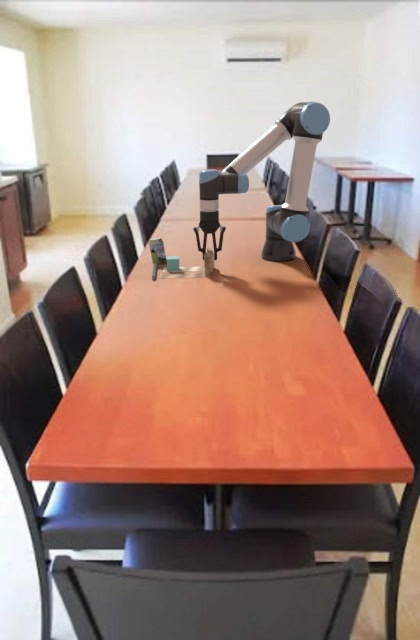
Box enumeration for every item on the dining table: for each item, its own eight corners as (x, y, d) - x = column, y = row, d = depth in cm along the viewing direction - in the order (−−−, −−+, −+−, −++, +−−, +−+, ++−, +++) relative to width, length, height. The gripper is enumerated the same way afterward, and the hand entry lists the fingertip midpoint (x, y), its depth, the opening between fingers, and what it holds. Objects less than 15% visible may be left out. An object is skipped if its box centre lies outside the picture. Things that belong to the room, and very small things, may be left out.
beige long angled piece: (212, 268, 235) (211, 247, 232) (212, 273, 228) (212, 251, 225) (163, 269, 234) (162, 248, 231) (163, 274, 228) (162, 252, 224)
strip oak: (209, 274, 226) (209, 252, 223) (210, 279, 220) (210, 256, 217) (159, 276, 226) (158, 254, 222) (159, 281, 219) (157, 258, 216)
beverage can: (164, 267, 238) (163, 239, 234) (148, 267, 240) (146, 239, 236) (168, 263, 244) (167, 236, 240) (152, 263, 246) (151, 236, 241)
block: (179, 267, 233) (179, 255, 231) (179, 271, 228) (179, 259, 227) (167, 268, 233) (166, 256, 231) (167, 271, 228) (166, 259, 226)
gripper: (227, 208, 227) (227, 265, 235) (189, 208, 226) (191, 265, 234) (229, 211, 220) (229, 269, 228) (190, 212, 219) (191, 270, 227)
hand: (210, 267), depth 231 cm, fingers closed on beige long angled piece, 2 cm apart
